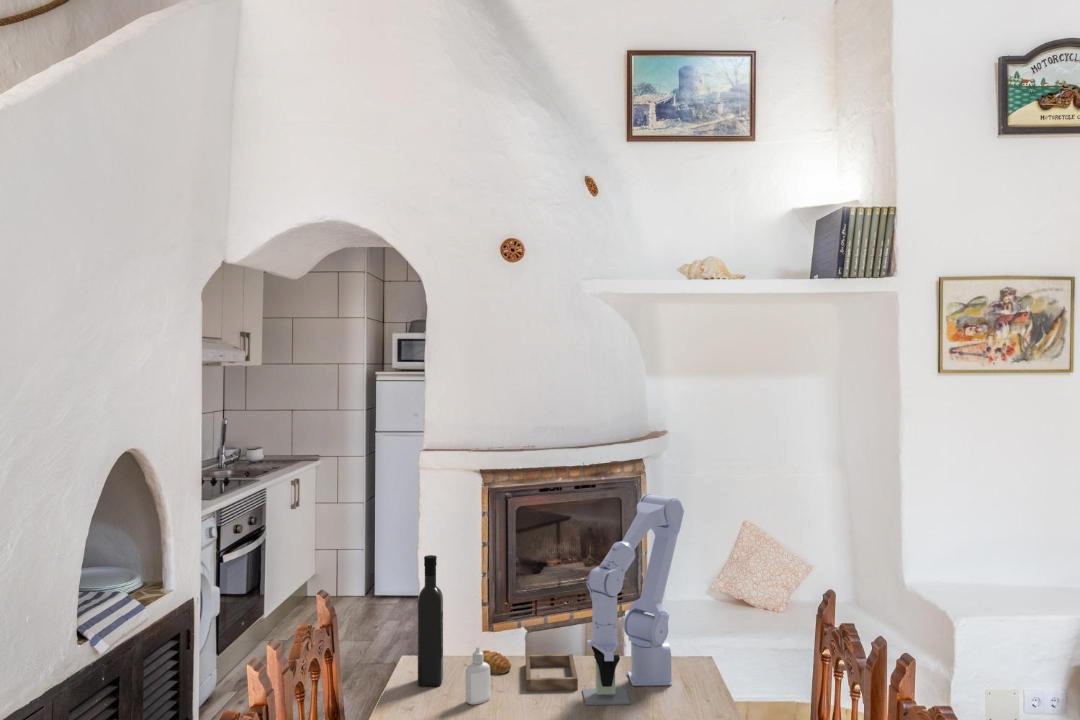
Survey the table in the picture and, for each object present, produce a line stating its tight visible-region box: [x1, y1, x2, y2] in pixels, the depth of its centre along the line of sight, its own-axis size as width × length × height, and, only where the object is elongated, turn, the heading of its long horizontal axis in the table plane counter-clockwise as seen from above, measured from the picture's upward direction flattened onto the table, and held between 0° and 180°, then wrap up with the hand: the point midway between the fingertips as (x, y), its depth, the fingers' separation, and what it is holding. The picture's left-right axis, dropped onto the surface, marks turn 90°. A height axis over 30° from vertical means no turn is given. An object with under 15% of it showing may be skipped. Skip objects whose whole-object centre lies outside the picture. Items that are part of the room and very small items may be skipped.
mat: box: [581, 687, 631, 706], centre depth 166 cm, size 10×8×1 cm
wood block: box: [594, 660, 616, 695], centre depth 166 cm, size 4×4×6 cm
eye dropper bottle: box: [465, 646, 491, 706], centre depth 165 cm, size 4×6×12 cm
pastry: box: [481, 649, 512, 675], centre depth 184 cm, size 9×7×4 cm
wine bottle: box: [417, 554, 444, 687], centre depth 176 cm, size 6×6×30 cm
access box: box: [525, 653, 579, 692], centre depth 178 cm, size 12×16×2 cm
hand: (605, 682), depth 166 cm, fingers closed on wood block, 4 cm apart
